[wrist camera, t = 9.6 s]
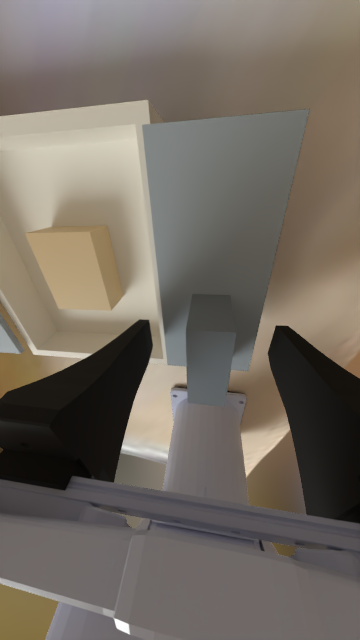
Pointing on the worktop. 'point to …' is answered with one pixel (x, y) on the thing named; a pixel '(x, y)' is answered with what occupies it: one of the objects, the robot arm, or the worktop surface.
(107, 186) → the carton
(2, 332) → the flap far
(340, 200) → the worktop surface
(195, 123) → the flap near
